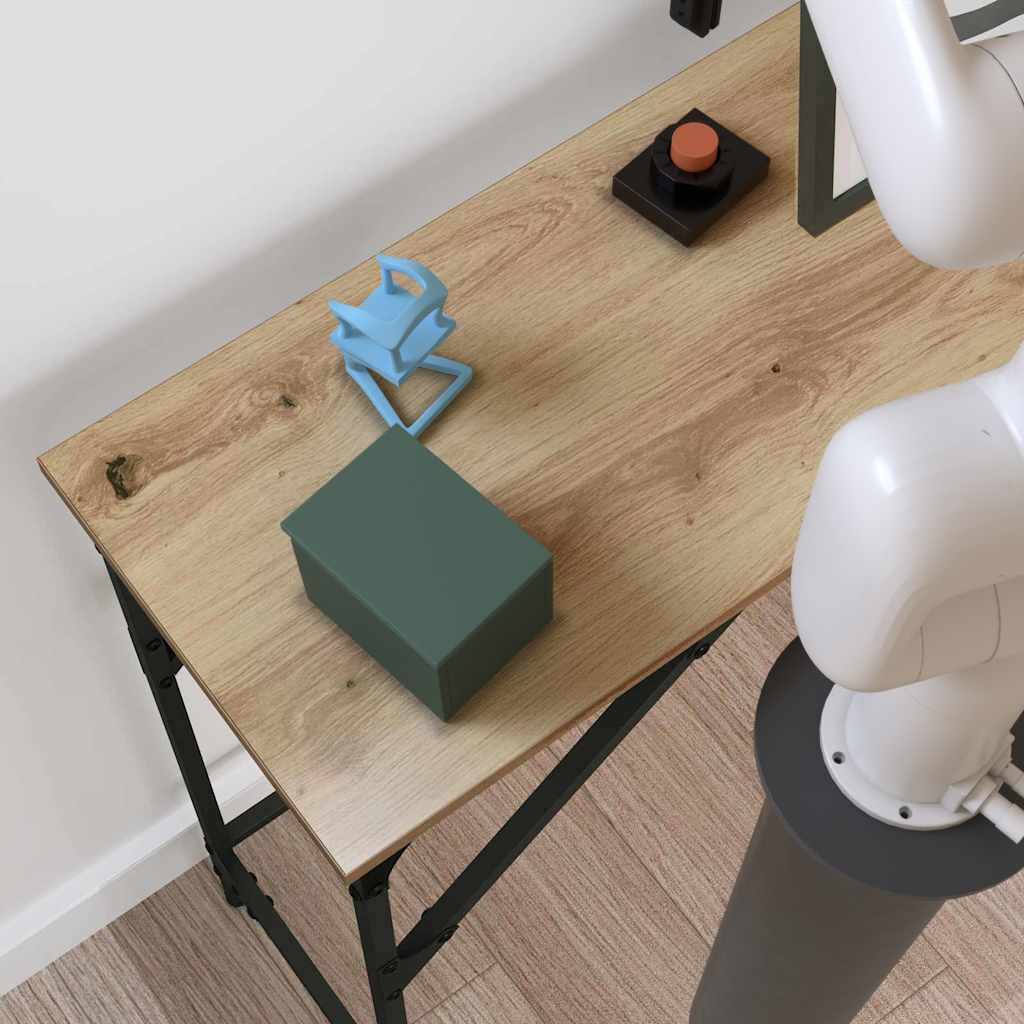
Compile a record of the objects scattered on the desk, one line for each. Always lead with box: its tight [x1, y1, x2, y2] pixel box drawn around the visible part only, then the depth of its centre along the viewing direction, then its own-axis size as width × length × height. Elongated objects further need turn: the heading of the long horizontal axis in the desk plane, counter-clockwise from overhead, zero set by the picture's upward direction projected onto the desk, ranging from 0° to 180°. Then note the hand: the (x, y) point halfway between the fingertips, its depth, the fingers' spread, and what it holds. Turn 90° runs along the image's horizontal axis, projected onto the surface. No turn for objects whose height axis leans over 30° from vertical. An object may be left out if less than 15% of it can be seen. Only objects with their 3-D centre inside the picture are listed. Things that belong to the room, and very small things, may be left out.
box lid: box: [279, 423, 554, 670], centre depth 104 cm, size 14×11×1 cm
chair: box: [328, 253, 473, 440], centre depth 116 cm, size 8×8×12 cm
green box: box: [290, 537, 554, 724], centre depth 108 cm, size 14×11×9 cm
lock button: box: [671, 122, 718, 172], centre depth 126 cm, size 4×4×2 cm
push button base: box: [611, 107, 772, 248], centre depth 128 cm, size 8×10×4 cm
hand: (693, 22), depth 113 cm, fingers closed
